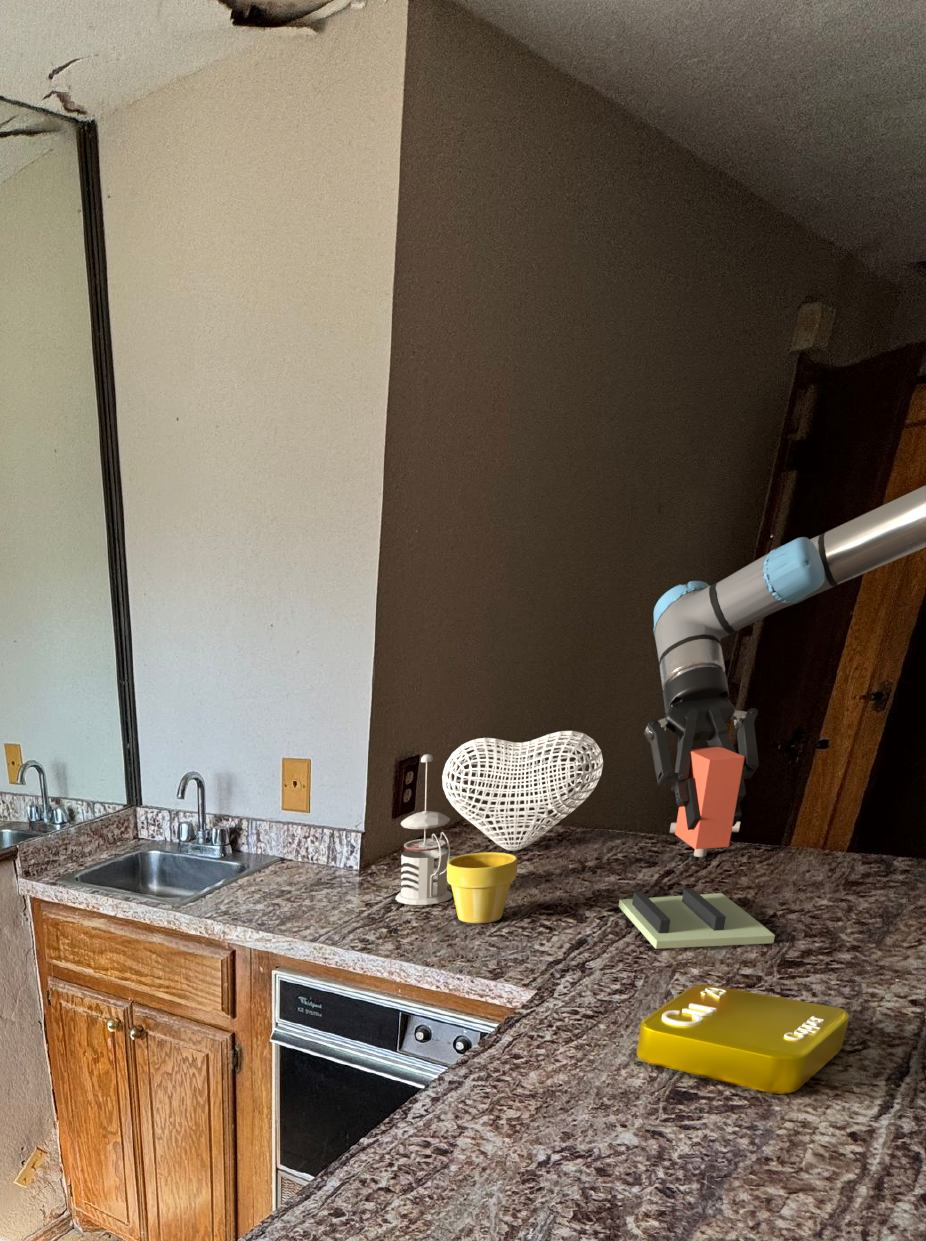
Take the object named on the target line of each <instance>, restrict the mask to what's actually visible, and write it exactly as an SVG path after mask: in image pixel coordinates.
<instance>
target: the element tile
mask: <svg viewBox="0 0 926 1241" xmlns="http://www.w3.org/2000/svg"><path fill="white" fill-rule="evenodd" d="M849 1020H850V1015H849V1013H848V1012H847V1011H846V1010H845V1009H843V1008H841V1007H836V1006H831V1005H825V1004H820V1003H815V1002H808V1001H803V1000H798V999H797V1000H796V999H791V998H786V997H781V996H775V995H769V994H763V993H757V992H751V991H747V990H741V989H735V988H729V987H725V986H719V985H713V984H712V985H711V984H706V983H705V984H704V983H701V984H697V985H694V986H691V987H688V988H687V989H685V990H684V991H682V992H681V993H680V994H678V995H677V996H675V997H674V998H672V999H671V1000H670V1001H668V1002H666V1003H665V1004H664V1005H662V1006H661V1007H659V1008H658V1009H656V1010H655V1011H653V1012H652V1013H651V1014H649V1015H648V1016H646V1017H645V1018H644V1019H642V1020H641V1022H640V1027H639V1032H638V1041H637V1048H636V1057H638V1059H639V1060H641V1061H643V1062H645V1063H647V1064H651V1065H655V1066H658V1067H663V1068H667V1069H670V1070H674V1071H679V1072H682V1073H687V1074H691V1075H695V1076H699V1077H703V1078H707V1079H711V1080H715V1081H718V1082H723V1083H727V1084H731V1085H734V1086H735V1085H736V1086H739V1087H743V1088H747V1089H751V1090H756V1091H759V1092H763V1093H768V1094H777V1095H783V1094H785V1095H787V1094H791V1093H794V1092H796V1091H798V1090H799V1089H800V1088H802V1087H803V1086H804V1085H805V1084H806V1083H807V1082H808V1081H809V1080H810V1079H812V1077H814V1076H815V1075H816V1073H818V1072H819V1071H820V1070H821V1069H822V1068H823V1067H825V1065H827V1064H828V1063H829V1062H830V1061H831V1060H832V1059H833V1058H834V1057H835V1056H836V1055H837V1054H839V1052H840V1051H841V1050H842V1047H843V1044H844V1039H845V1036H846V1032H847V1028H848V1024H849Z"/></svg>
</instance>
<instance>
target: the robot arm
mask: <svg viewBox="0 0 926 1241" xmlns="http://www.w3.org/2000/svg"><path fill="white" fill-rule="evenodd" d="M925 548H926V484H925V485H922V486H921V487H919V488H916V489H914V490H912V491H910V492H908V493H906V494H904V495H902V496H899V497H898V498H895V499H893V500H891V501H889V502H886V503H885V504H883V505H880V506H878V507H876V508H874V509H872V510H870V511H867V512H865V513H863V514H861V515H859V516H857V517H855V518H853V519H851V520H848V521H847V522H844V523H842V524H840V525H838V526H836V527H834V528H832V529H830V530H826V531H825V532H824V533H821V534H820V535H817V536H815V537H813V538H810V539H809V537H806V536H801V537H797V538H795V539H793V540H791V541H789V542H787V543H785V544H783V545H781V546H778V547H775V548H774V549H772V550H770V552H768V553H767V554H765V555H763V556H761V557H760V558H758V559H756V560H754V561H753V562H750V563H749V564H748V565H746V566H744V567H742V568H741V569H739V570H737V571H735V572H734V573H732V574H730V575H729V576H727V577H725V578H723V579H721V580H720V581H718V582H715V583H713V584H711V585H709V584H708V583H707V582H705V581H702V580H701V581H700V580H691V581H689V582H687V583H685V584H678V585H675V586H674V587H672V588H670V589H669V590H667V591H666V592H665V593H664V594H662V596H660V598H659V599H658V601H657V602H656V604H655V606H654V608H653V637H654V640H655V645H656V651H657V658H658V666H659V673H660V680H661V689H662V696H663V704H664V713H665V715H664V718H661V719H656V718H653V719H650V720H649V722H648V724H647V725H646V728H645V730H644V732H643V735H644V737H645V738H646V740H647V741H648V742H649V743H650V748H651V754H652V760H653V766H654V772H655V777H656V780H657V786H659V787H662V788H664V787H666V786H669V787H671V788H670V789H671V792H672V793H674V794H675V795H674V796H675V802H676V806H677V807H678V808H679V807H685V813H686V820H687V828H688V830H694V829H695V827H696V826H697V824H698V822H699V821H700V819H701V816H700V809H699V802H698V795H697V788H696V781H695V778H690V779H688V780H687V778H688V775H689V767H690V760H691V751H692V749H693V745H694V742H697V741H706V742H707V745H708V748H711V747H721V748H725V749H727V750H730V751H732V752H735V753H737V751H736V749H735V746H734V744H733V743H732V740H731V738H730V736H729V733H728V731H729V729H728V726H727V725H728V723H729V722H730V721H732V722H733V725H734V729H735V730H737V734H736V738H737V747H738V754H740V755H742V756H744V757H745V758H744V764H743V770H742V775H741V781H740V786H739V792H738V798H737V803H736V809H735V814H734V820H733V826H735V824H736V823H737V822H739V820H740V819H741V817H743V816H742V814H743V813H742V808H741V803H742V800H743V799H744V798H745V796H746V793H747V792H746V790H747V789H746V785H745V780H749V779H751V778H752V777H753V775H754V774H755V772H756V771H757V770H758V768H759V767H760V766H759V765H760V762H759V761H760V760H759V754H758V744H757V738H756V737H757V736H756V727H755V721H756V719H757V716H758V714H759V711H758V709H757V708H755V707H751V708H749V709H748V710H747V711H745V710H739V709H738V710H737V709H736V707H735V705H734V704H733V703H732V702H731V700H730V692H729V685H728V679H727V675H726V666H725V660H724V655H723V649H722V643H721V641H722V639H724V638H726V637H728V636H730V635H732V634H734V633H736V632H738V631H740V630H741V629H743V628H745V627H747V626H749V625H751V624H753V623H755V622H757V621H759V620H761V619H763V618H765V617H767V616H769V615H772V614H774V613H776V612H777V611H780V610H782V609H785V608H788V607H791V606H794V605H796V604H799V603H801V602H803V601H805V600H807V599H809V598H811V597H813V596H816V595H817V594H820V593H823V592H825V591H827V590H830V589H832V588H834V587H835V586H838V585H840V584H842V583H845V582H847V581H849V580H852V579H855V578H857V577H859V576H862V575H864V574H866V573H868V572H871V571H873V570H875V569H878V568H880V567H882V566H884V565H887V564H890V563H892V562H894V561H897V560H899V559H902V558H904V557H906V556H908V555H911V554H913V553H915V552H918V551H920V550H922V549H925ZM667 730H669V731H670V732H671V733H673V734H674V735H675V736H676V737H678V740H677V747H676V749H677V753H676V758H675V766H674V771H673V766H672V761H671V760H672V759H671V755H670V754H671V753H670V749H669V745H668V743H669V742H668V739H667V734H666V731H667Z"/></svg>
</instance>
